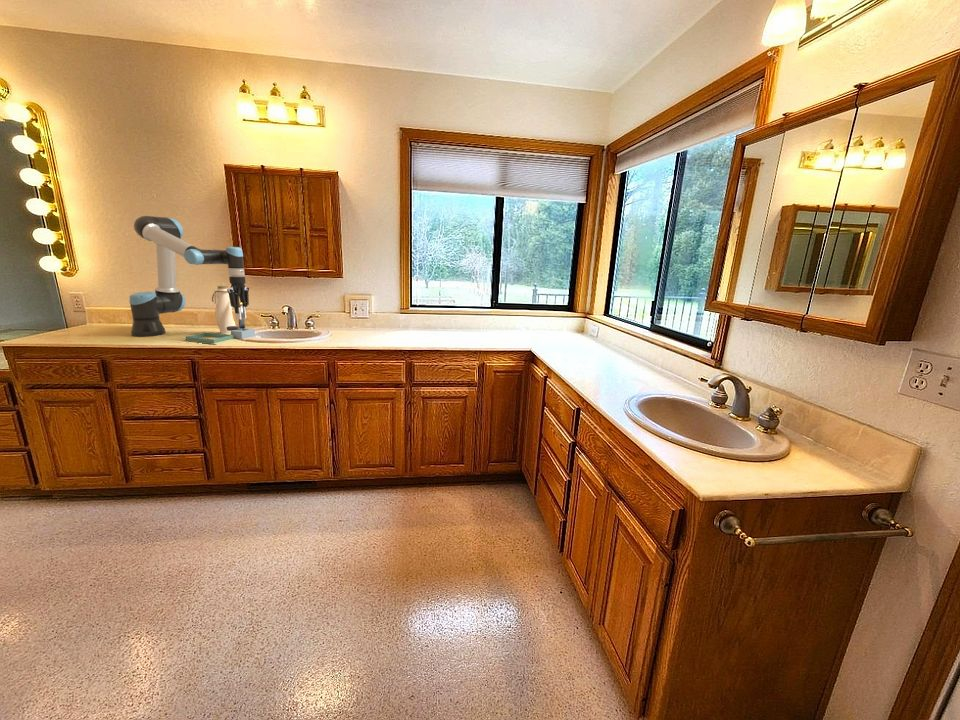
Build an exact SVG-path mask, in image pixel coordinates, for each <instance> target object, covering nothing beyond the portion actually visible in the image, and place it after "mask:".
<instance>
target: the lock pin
mask: <svg viewBox="0 0 960 720" xmlns="http://www.w3.org/2000/svg"><path fill="white" fill-rule="evenodd" d="M239 308H240V310H241V319H237V321H238V326H239V329H245V328H246V321H245V319H246V318H244V309H243V302H240V301H239Z"/></svg>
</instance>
